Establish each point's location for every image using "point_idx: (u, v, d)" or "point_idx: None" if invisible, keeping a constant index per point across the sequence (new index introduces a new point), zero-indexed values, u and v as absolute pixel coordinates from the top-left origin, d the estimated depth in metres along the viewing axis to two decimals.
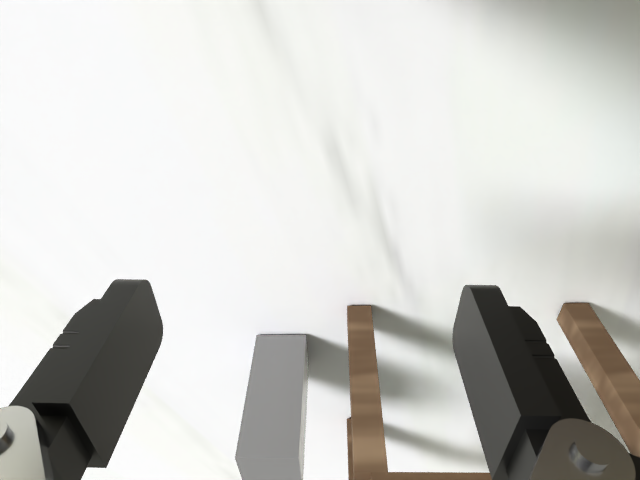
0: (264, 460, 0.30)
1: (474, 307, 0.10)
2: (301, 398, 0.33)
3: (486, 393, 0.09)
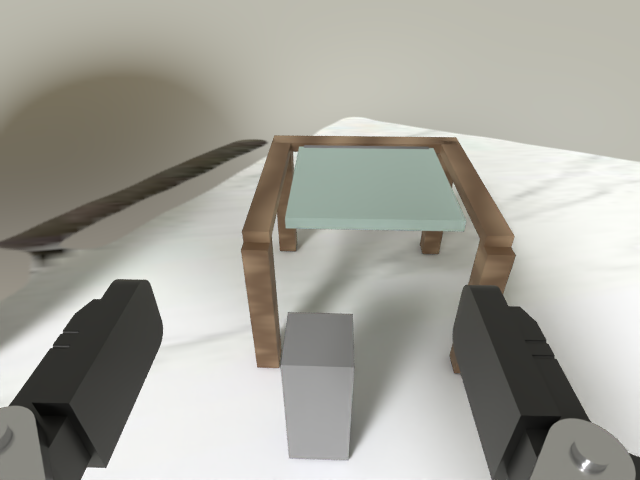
0: (289, 339, 0.27)
1: (474, 307, 0.10)
2: None
3: (487, 393, 0.09)
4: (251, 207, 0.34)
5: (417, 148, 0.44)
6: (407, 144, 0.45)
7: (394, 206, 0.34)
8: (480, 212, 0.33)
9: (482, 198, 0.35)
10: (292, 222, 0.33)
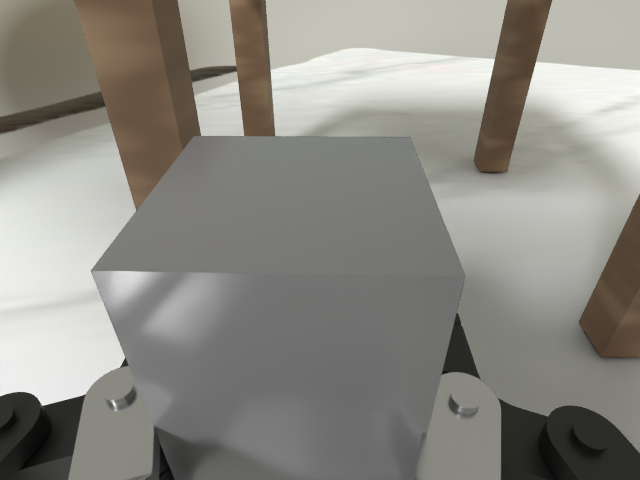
0: (172, 189, 0.07)
1: None
2: None
3: None
4: None
5: None
6: None
7: None
8: None
9: None
10: None
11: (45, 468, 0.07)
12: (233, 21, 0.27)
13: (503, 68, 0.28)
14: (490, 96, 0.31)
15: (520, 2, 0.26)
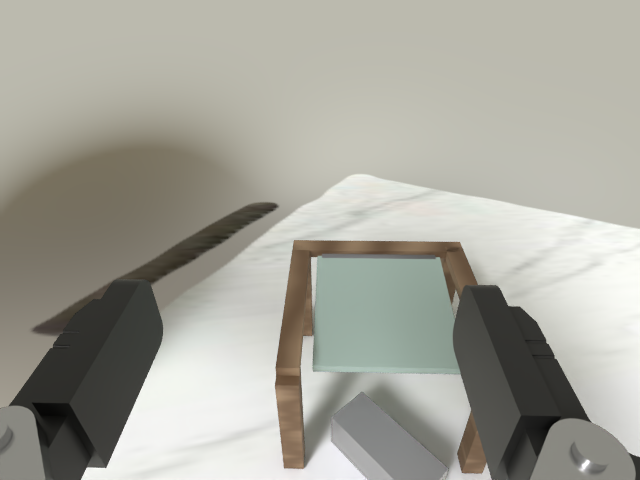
0: None
1: (474, 307, 0.10)
2: (378, 462, 0.39)
3: (486, 392, 0.09)
4: (281, 337, 0.39)
5: (425, 258, 0.48)
6: (415, 251, 0.49)
7: (405, 348, 0.40)
8: None
9: None
10: (318, 368, 0.39)
11: None
12: None
13: None
14: None
15: None
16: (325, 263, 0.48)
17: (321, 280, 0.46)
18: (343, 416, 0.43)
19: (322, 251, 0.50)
